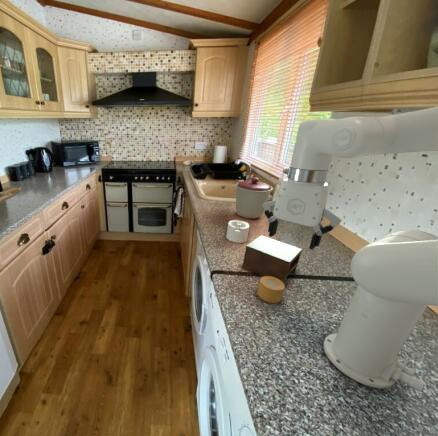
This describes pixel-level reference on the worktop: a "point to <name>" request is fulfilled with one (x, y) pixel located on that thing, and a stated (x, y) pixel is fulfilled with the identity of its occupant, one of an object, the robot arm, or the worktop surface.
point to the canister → (251, 198)
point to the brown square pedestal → (271, 258)
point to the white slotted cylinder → (237, 231)
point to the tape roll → (270, 289)
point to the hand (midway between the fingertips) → (291, 241)
